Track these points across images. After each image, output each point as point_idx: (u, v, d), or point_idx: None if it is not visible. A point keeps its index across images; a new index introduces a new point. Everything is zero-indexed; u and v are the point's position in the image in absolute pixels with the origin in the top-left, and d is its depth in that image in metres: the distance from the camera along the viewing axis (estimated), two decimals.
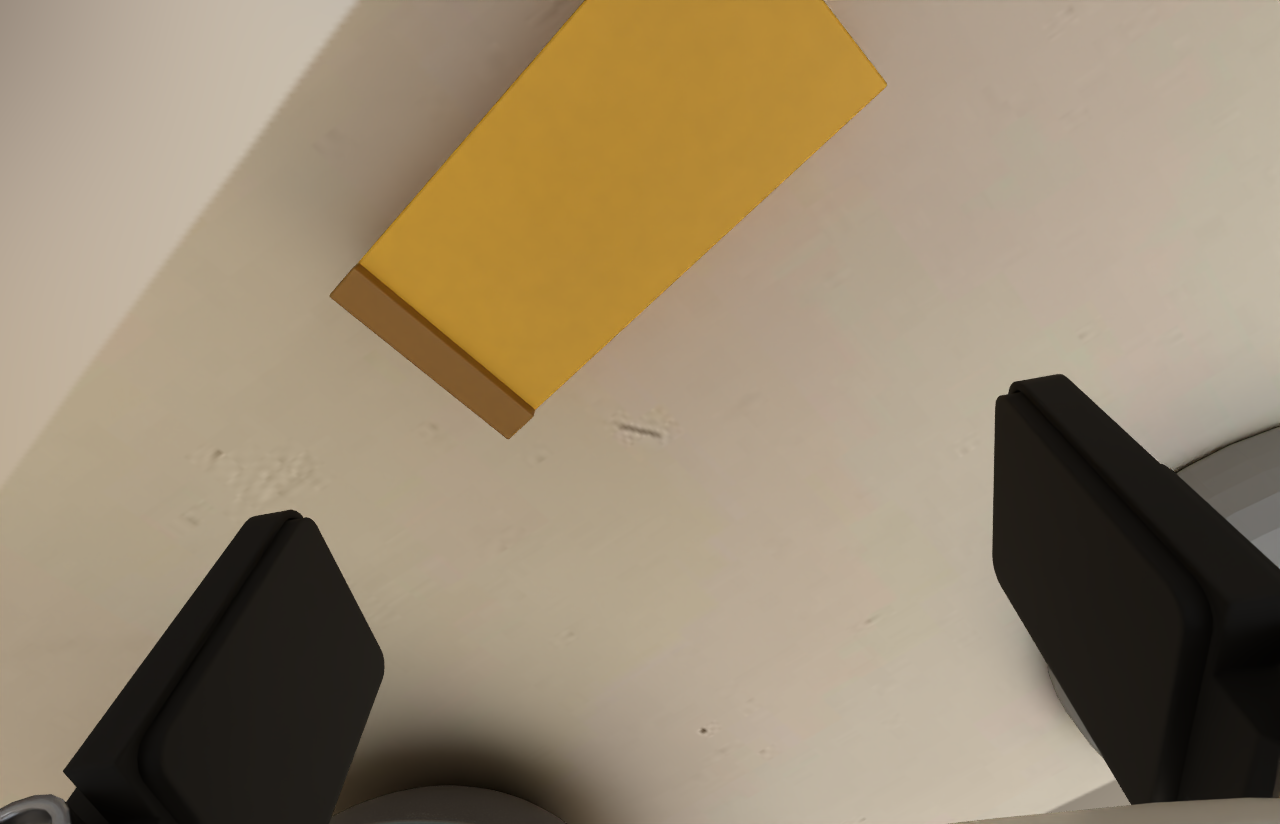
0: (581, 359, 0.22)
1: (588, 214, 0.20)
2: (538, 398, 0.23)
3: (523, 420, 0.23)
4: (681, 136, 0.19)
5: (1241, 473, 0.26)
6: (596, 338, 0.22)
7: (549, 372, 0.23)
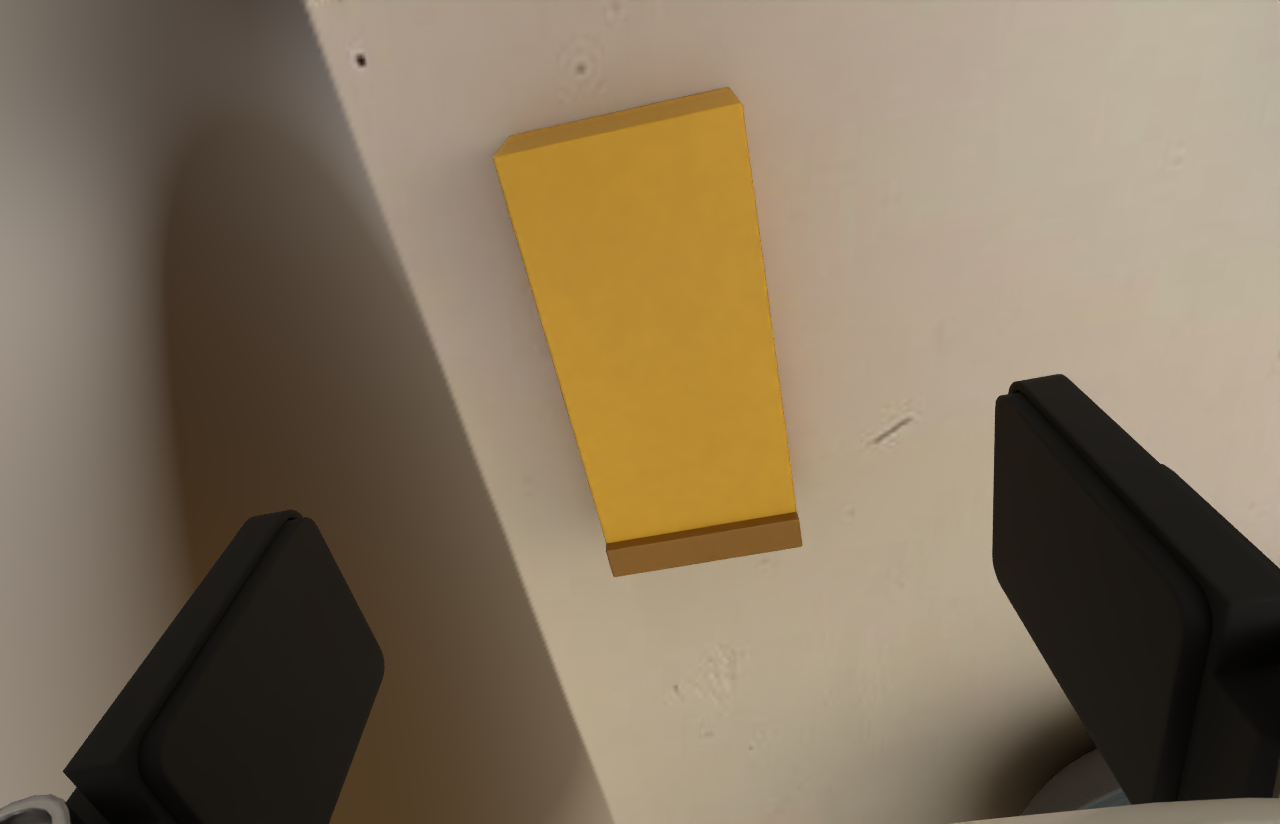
0: (783, 457, 0.24)
1: (679, 386, 0.23)
2: (789, 504, 0.25)
3: (796, 527, 0.25)
4: (669, 288, 0.22)
5: None
6: (775, 438, 0.24)
7: (775, 484, 0.25)
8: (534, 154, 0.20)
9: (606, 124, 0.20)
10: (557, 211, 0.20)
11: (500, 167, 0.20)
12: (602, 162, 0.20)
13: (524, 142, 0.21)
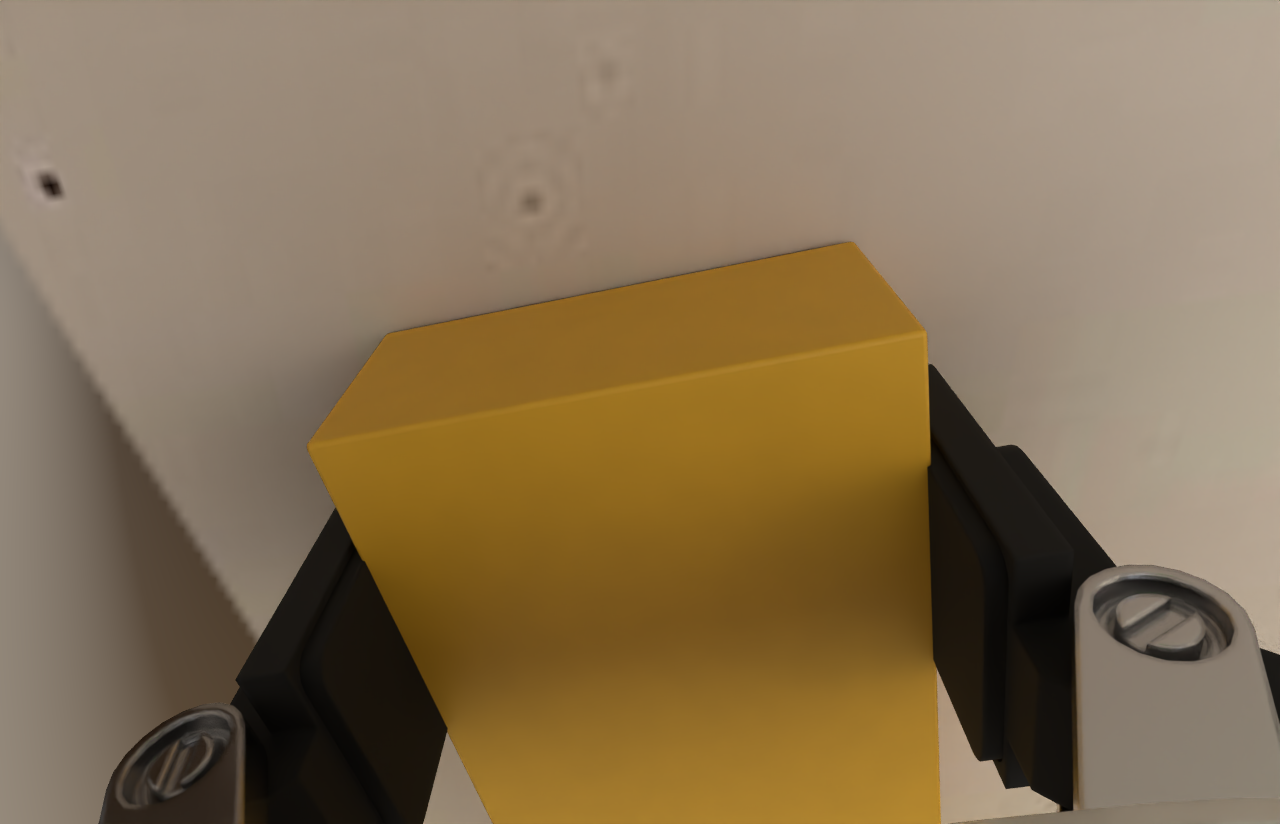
0: None
1: None
2: None
3: None
4: (724, 683, 0.10)
5: None
6: None
7: None
8: (406, 442, 0.08)
9: (584, 347, 0.09)
10: (471, 551, 0.09)
11: (326, 466, 0.08)
12: (573, 457, 0.08)
13: (397, 383, 0.09)
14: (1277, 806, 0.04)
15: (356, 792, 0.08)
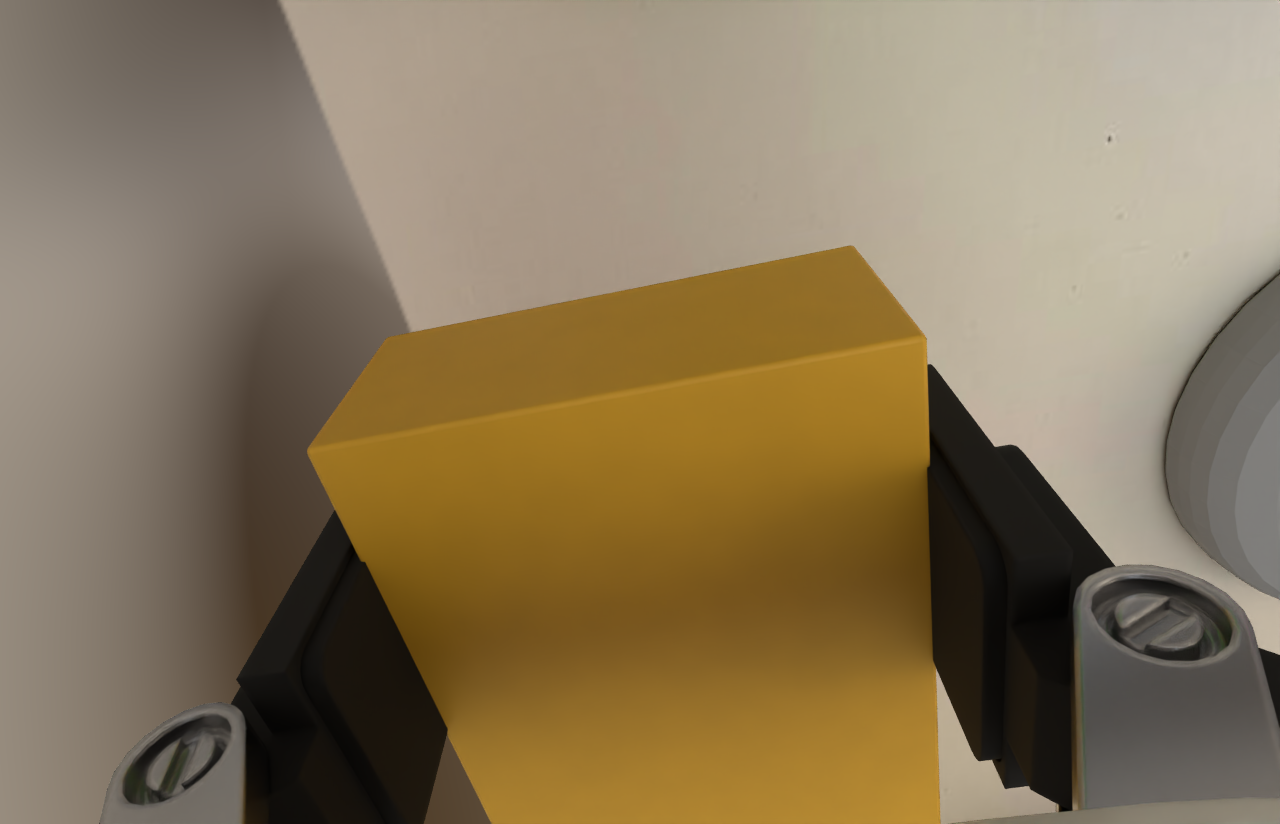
0: None
1: None
2: None
3: None
4: (724, 687, 0.10)
5: (1192, 435, 0.31)
6: None
7: None
8: (407, 447, 0.08)
9: (584, 351, 0.09)
10: (470, 556, 0.09)
11: (326, 470, 0.08)
12: (572, 461, 0.08)
13: (397, 387, 0.09)
14: (1277, 806, 0.04)
15: (358, 792, 0.08)
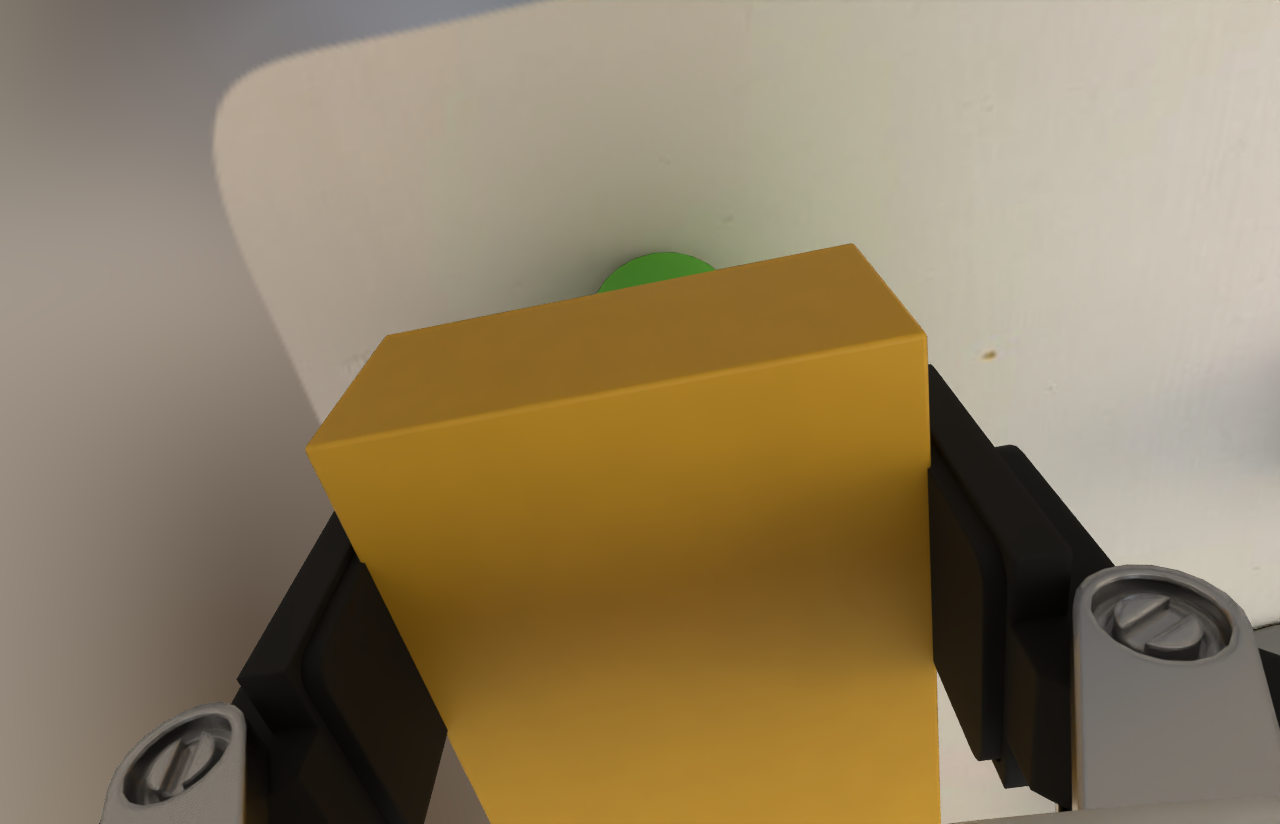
0: None
1: None
2: None
3: None
4: (723, 686, 0.10)
5: None
6: None
7: None
8: (405, 444, 0.08)
9: (583, 349, 0.09)
10: (469, 554, 0.09)
11: (324, 468, 0.08)
12: (572, 460, 0.08)
13: (396, 385, 0.09)
14: (1277, 806, 0.04)
15: (358, 792, 0.08)
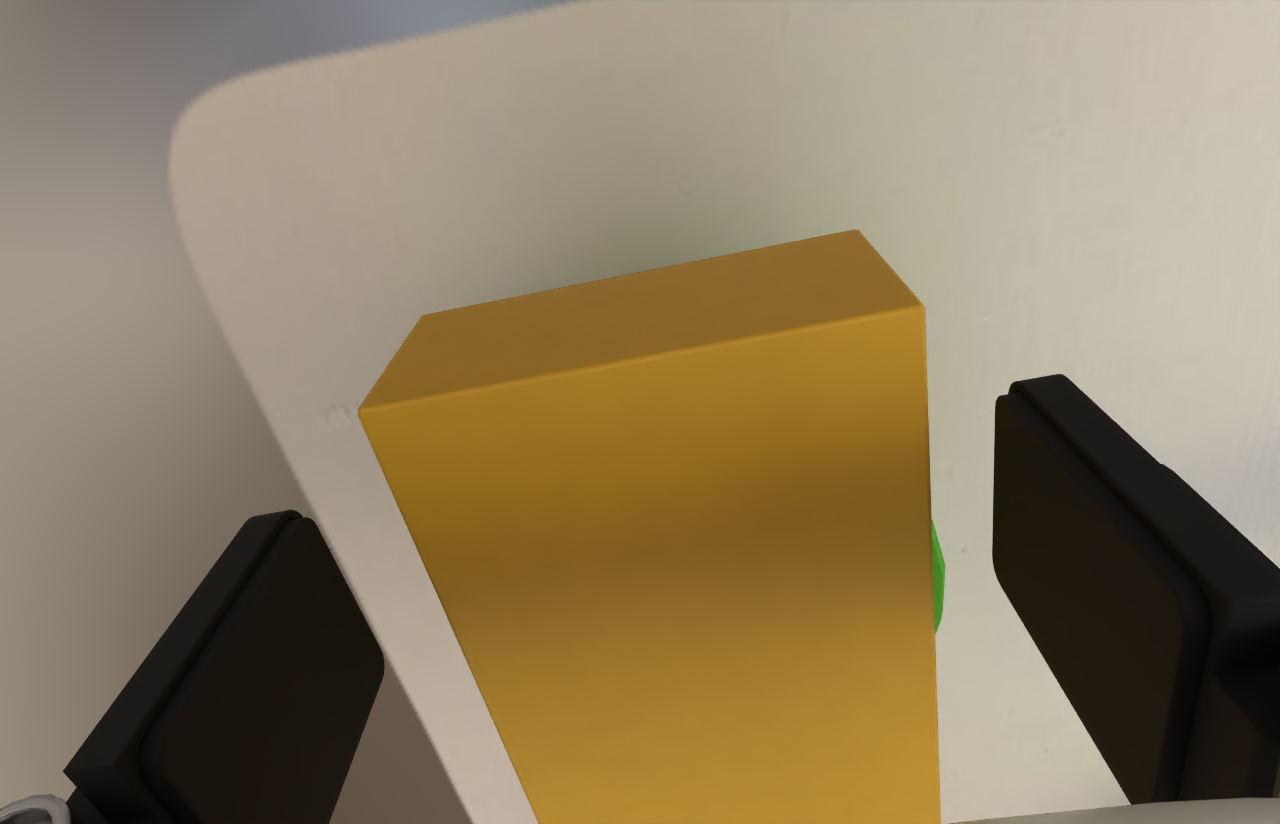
0: None
1: (747, 784, 0.12)
2: None
3: None
4: (737, 639, 0.11)
5: None
6: None
7: None
8: (449, 407, 0.09)
9: (609, 324, 0.10)
10: (504, 511, 0.10)
11: (374, 430, 0.09)
12: (599, 423, 0.09)
13: (436, 357, 0.10)
14: (1277, 806, 0.04)
15: None
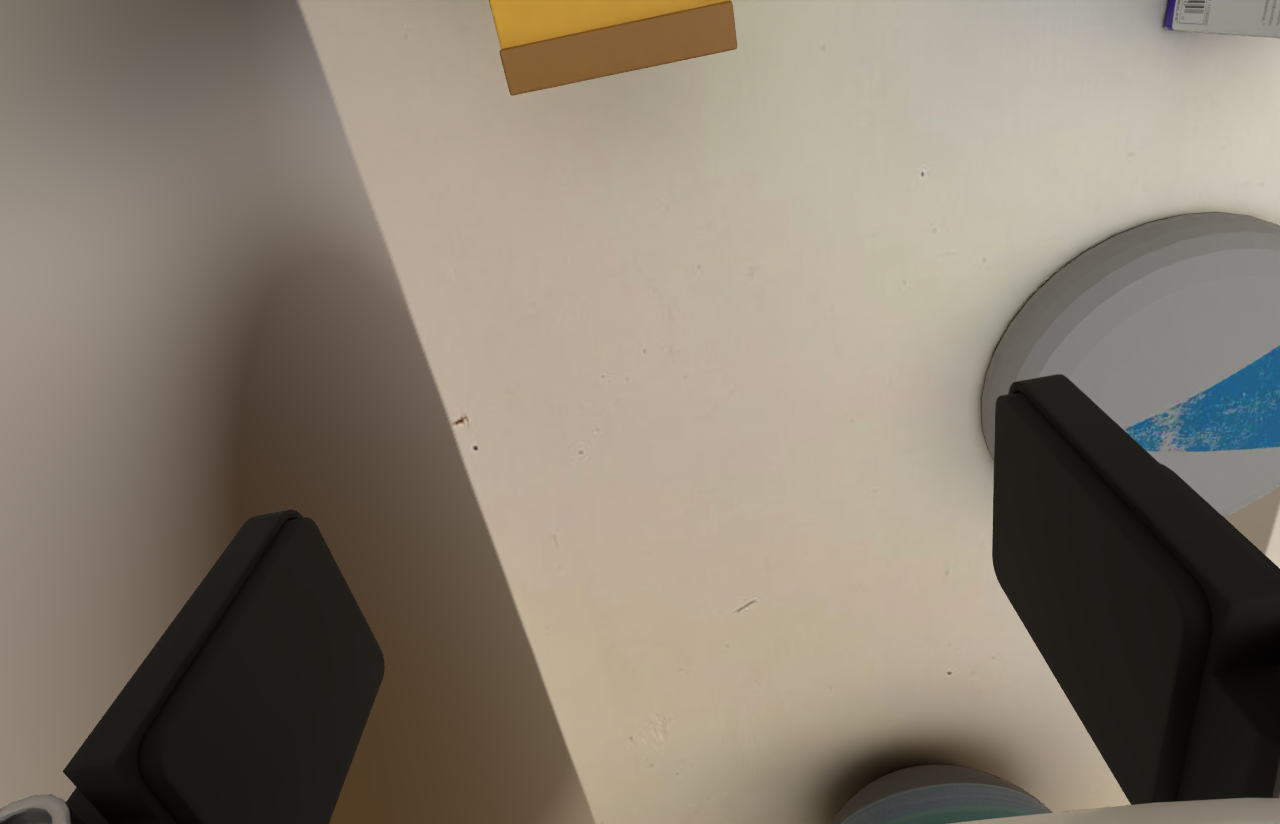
0: None
1: None
2: None
3: (728, 15, 0.21)
4: None
5: (994, 395, 0.41)
6: None
7: None
8: None
9: None
10: None
11: None
12: None
13: None
14: (1277, 807, 0.04)
15: None
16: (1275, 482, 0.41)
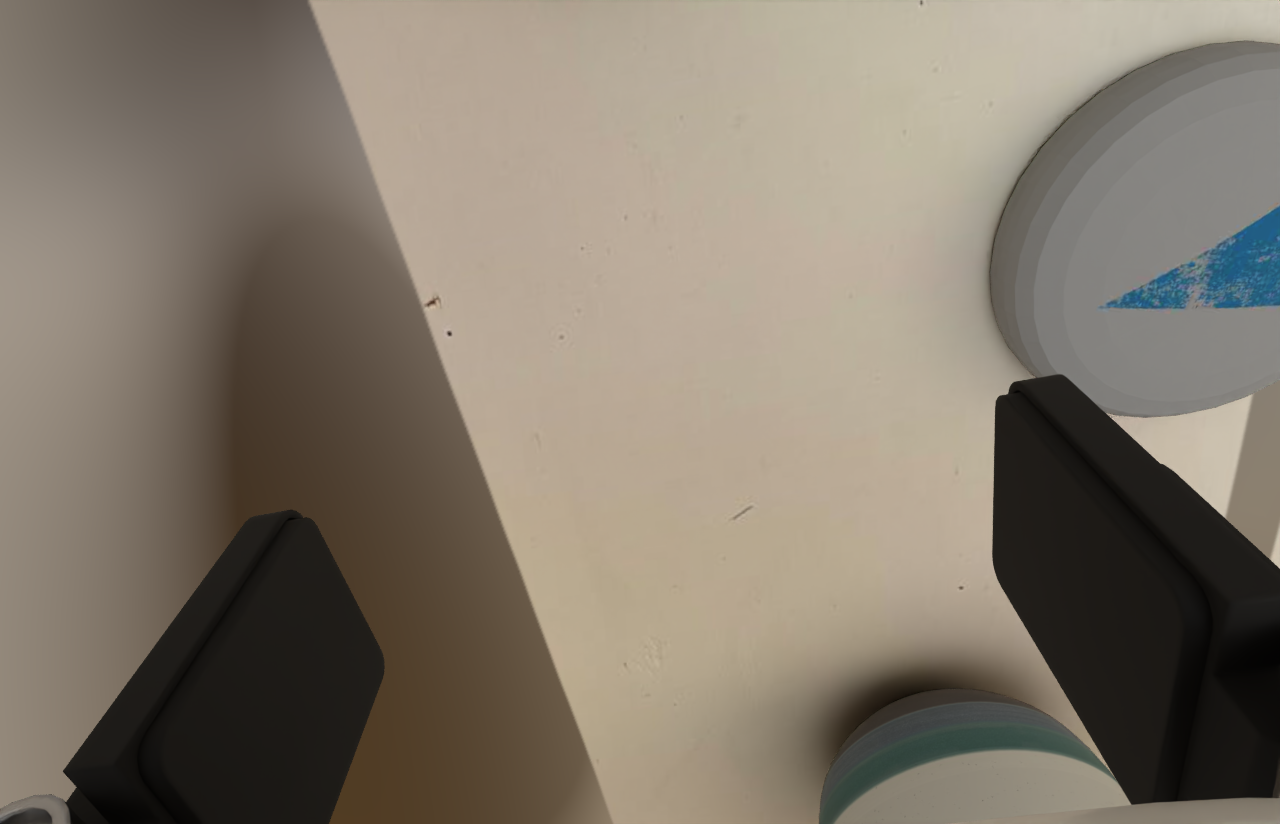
0: None
1: None
2: None
3: None
4: None
5: (1003, 258, 0.38)
6: None
7: None
8: None
9: None
10: None
11: None
12: None
13: None
14: (1276, 806, 0.04)
15: None
16: None
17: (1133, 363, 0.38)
